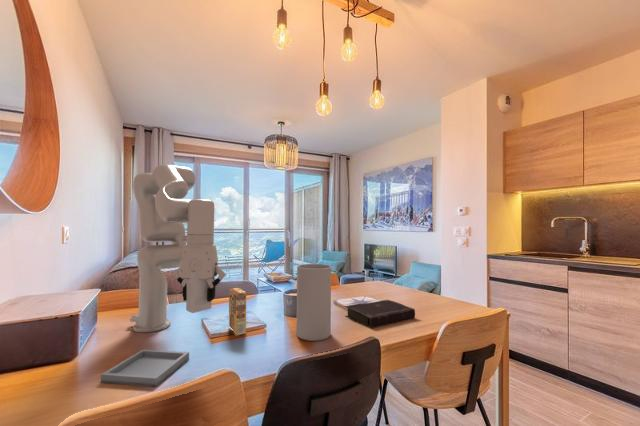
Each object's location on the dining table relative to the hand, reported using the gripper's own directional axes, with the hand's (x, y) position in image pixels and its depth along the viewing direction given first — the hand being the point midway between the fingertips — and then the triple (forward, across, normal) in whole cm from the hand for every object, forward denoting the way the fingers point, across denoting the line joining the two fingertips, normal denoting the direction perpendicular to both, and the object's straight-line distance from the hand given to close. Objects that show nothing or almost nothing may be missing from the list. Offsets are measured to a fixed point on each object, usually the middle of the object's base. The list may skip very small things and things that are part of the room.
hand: (198, 299), depth 89 cm
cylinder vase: (+18, +33, +22) cm, 43 cm away
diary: (+18, +59, +46) cm, 77 cm away
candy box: (+18, +4, +23) cm, 30 cm away
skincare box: (+3, 0, 0) cm, 3 cm away
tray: (+18, -10, -7) cm, 22 cm away
